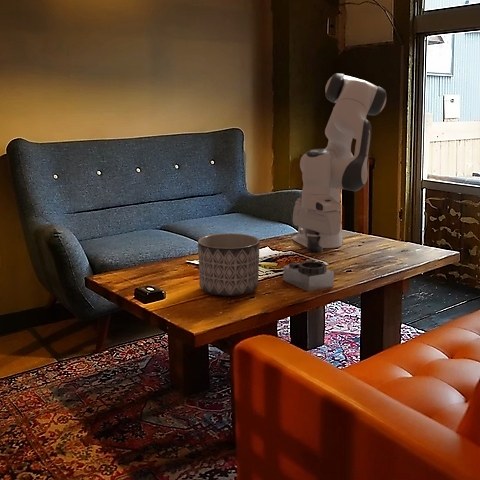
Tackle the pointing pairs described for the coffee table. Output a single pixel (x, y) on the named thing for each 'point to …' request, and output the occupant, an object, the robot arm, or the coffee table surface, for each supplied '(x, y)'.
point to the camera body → (309, 275)
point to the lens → (313, 242)
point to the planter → (228, 263)
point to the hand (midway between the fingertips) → (314, 244)
